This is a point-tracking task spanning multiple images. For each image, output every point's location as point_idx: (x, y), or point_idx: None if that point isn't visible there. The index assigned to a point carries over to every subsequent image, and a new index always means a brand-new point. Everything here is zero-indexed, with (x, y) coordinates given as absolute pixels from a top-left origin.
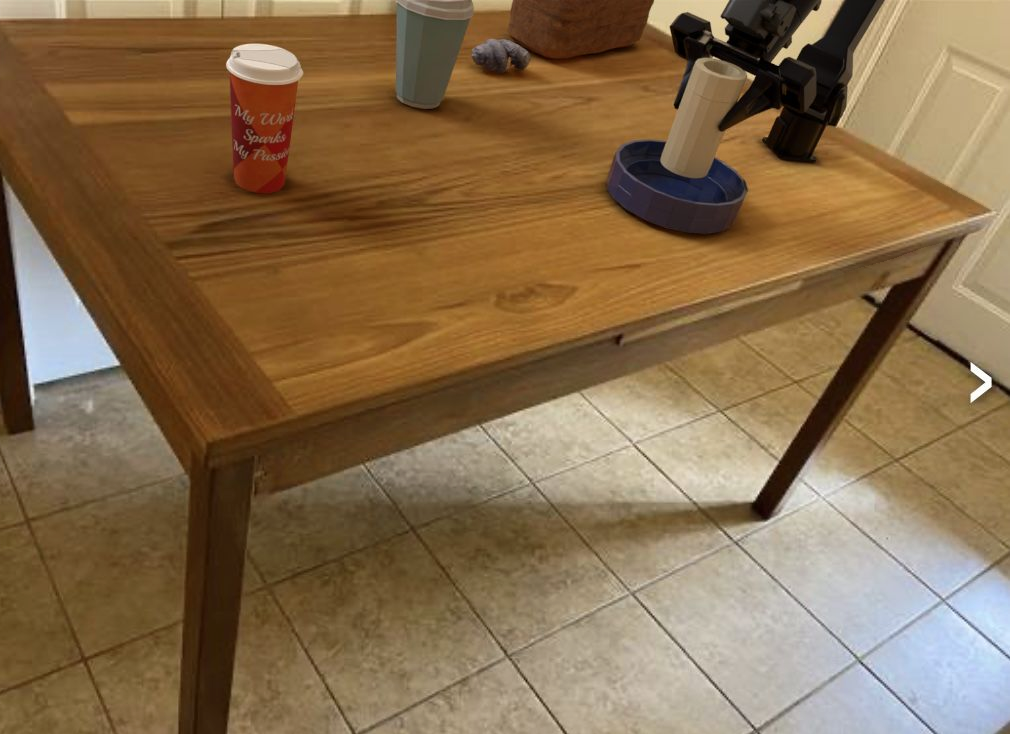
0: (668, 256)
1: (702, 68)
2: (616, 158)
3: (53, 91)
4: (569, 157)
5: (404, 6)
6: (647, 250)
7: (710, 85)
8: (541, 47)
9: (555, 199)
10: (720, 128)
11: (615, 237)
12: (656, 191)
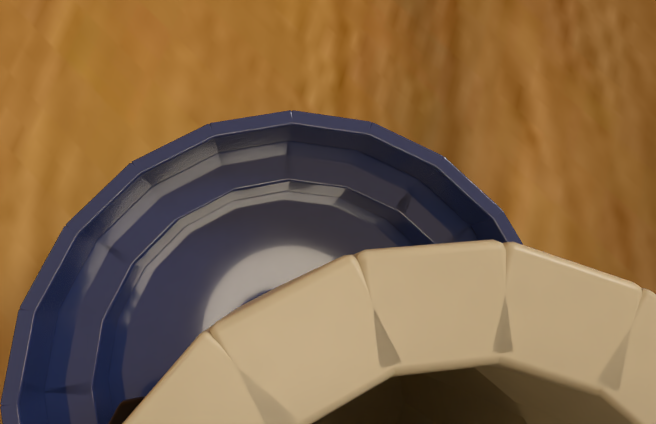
0: (45, 96)
1: (527, 267)
2: (455, 167)
3: None
4: (615, 232)
5: None
6: (99, 58)
7: (284, 285)
8: None
9: (417, 6)
10: (126, 399)
11: (193, 20)
12: (206, 127)
